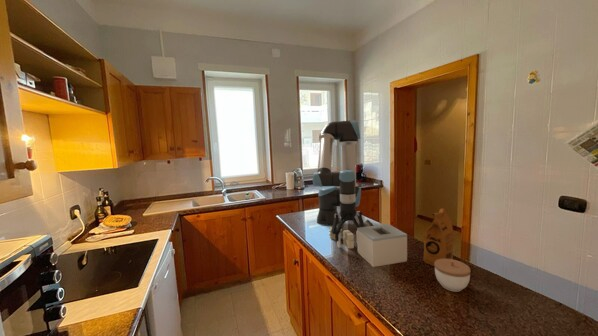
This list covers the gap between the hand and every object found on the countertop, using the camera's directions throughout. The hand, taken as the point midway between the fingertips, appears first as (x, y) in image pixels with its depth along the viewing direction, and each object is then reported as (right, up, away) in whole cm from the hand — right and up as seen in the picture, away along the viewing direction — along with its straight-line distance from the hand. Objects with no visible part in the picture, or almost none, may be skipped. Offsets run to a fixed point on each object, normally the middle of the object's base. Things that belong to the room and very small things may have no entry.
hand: (348, 245), depth 122 cm
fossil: (+15, +1, +12) cm, 19 cm away
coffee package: (+34, -1, -19) cm, 39 cm away
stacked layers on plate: (-5, 0, +11) cm, 12 cm away
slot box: (+12, -1, -12) cm, 17 cm away
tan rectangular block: (0, 0, 0) cm, 0 cm away
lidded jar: (+29, -3, -36) cm, 46 cm away
